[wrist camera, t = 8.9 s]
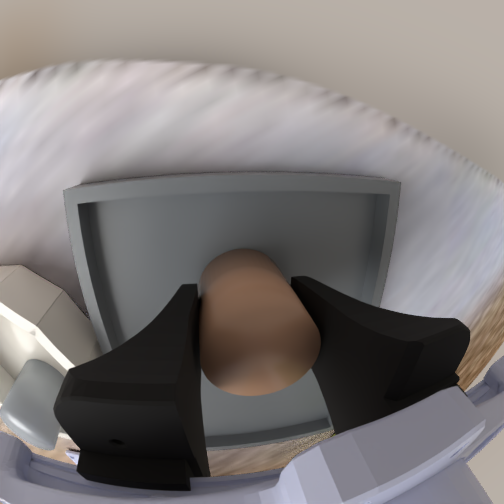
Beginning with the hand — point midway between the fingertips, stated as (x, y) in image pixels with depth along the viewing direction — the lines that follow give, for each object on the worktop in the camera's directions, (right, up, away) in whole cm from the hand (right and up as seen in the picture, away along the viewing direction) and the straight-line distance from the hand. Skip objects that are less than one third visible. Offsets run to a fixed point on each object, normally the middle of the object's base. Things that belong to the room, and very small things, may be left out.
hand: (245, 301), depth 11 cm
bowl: (-13, -4, +1) cm, 14 cm away
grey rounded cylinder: (-13, -6, +1) cm, 14 cm away
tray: (0, -3, +3) cm, 4 cm away
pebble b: (0, 0, +1) cm, 1 cm away
